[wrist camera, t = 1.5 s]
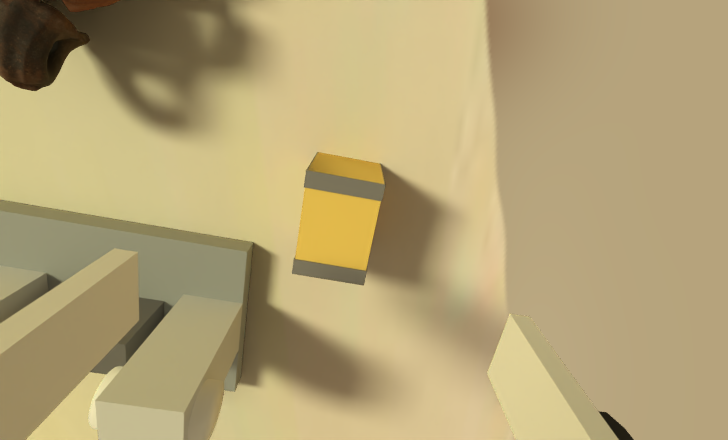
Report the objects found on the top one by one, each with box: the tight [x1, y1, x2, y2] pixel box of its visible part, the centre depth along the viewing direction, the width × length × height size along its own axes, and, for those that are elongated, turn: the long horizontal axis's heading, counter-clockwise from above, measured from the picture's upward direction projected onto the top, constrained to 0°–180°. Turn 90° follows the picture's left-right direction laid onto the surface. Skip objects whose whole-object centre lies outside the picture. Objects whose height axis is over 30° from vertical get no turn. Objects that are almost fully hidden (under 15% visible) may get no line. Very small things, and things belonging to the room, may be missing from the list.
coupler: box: [292, 152, 386, 285], centre depth 22 cm, size 4×6×5 cm
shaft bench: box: [0, 200, 253, 440], centre depth 22 cm, size 12×18×10 cm, turn 79°
